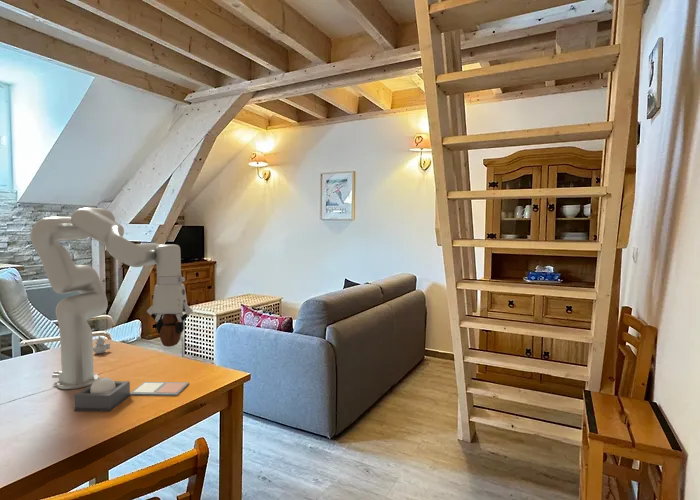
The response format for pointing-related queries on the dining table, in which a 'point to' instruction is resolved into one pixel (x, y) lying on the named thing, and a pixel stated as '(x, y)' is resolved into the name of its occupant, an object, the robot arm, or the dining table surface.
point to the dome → (103, 385)
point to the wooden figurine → (169, 330)
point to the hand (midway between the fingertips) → (170, 332)
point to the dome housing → (102, 398)
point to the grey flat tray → (160, 388)
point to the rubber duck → (101, 346)
